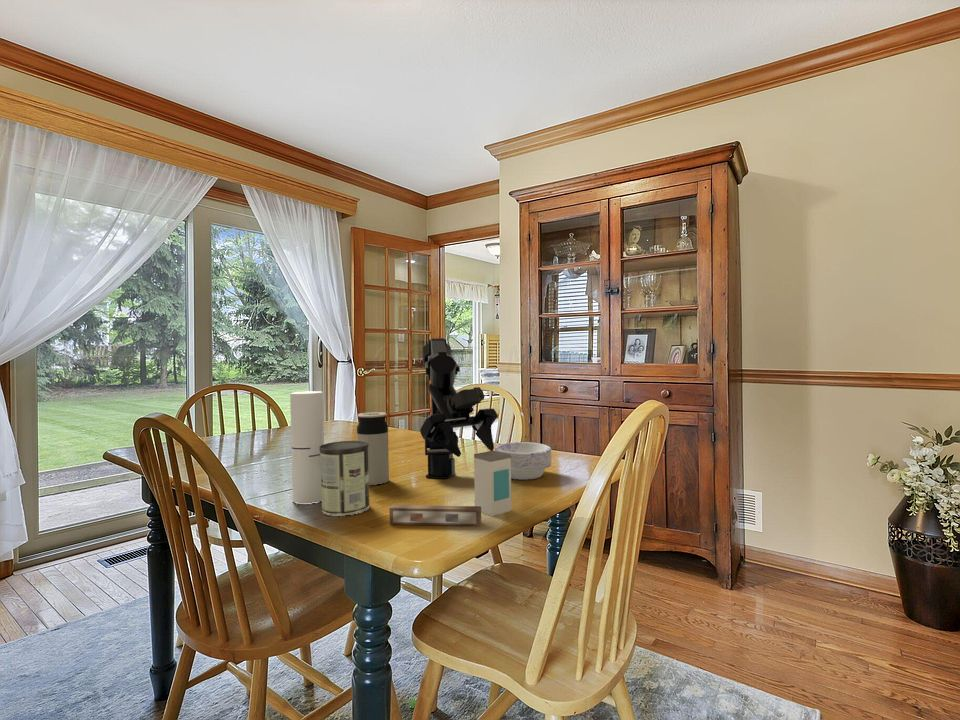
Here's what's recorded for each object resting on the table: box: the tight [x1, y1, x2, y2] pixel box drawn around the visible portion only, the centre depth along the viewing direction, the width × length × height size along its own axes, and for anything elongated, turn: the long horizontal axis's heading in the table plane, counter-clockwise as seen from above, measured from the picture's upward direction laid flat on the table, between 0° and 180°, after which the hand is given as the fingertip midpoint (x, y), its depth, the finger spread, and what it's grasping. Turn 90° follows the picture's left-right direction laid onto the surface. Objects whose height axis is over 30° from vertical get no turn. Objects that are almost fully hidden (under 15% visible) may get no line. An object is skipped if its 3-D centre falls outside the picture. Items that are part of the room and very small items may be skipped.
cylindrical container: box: [289, 390, 325, 503], centre depth 116 cm, size 7×7×25 cm
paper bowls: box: [494, 441, 552, 481], centre depth 135 cm, size 15×15×8 cm
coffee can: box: [319, 440, 371, 517], centre depth 109 cm, size 10×10×14 cm
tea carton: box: [473, 450, 512, 517], centre depth 106 cm, size 6×6×12 cm
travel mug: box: [356, 411, 390, 486], centre depth 131 cm, size 8×8×18 cm
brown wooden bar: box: [389, 504, 482, 527], centre depth 98 cm, size 18×3×3 cm, turn 84°
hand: (476, 452), depth 110 cm, fingers open, 9 cm apart
